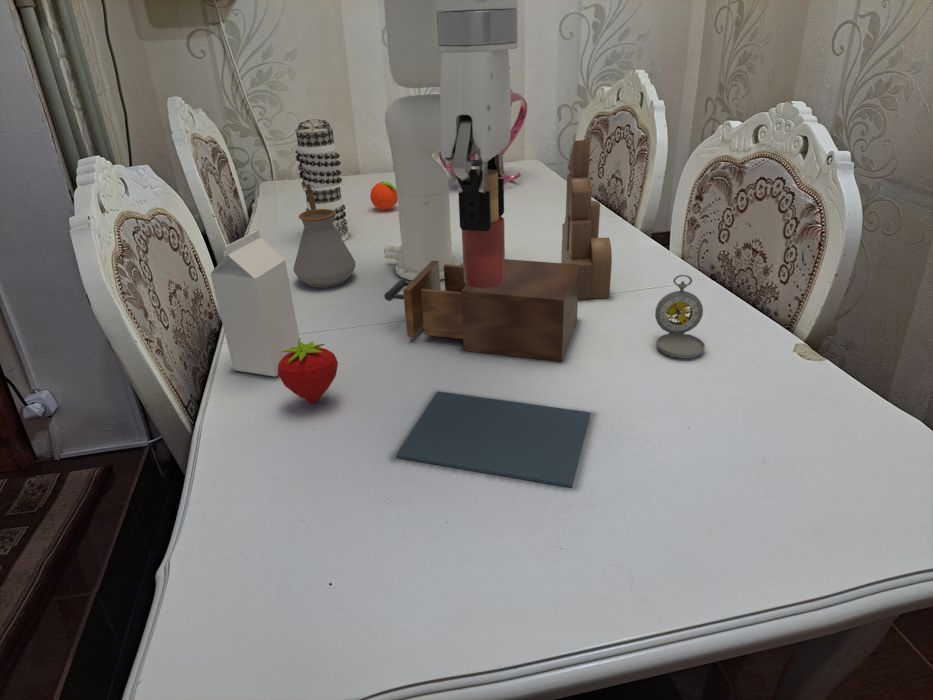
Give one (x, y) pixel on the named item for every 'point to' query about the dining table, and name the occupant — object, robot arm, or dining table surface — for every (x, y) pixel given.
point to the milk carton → (255, 305)
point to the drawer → (432, 301)
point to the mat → (499, 438)
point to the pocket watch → (676, 339)
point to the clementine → (384, 196)
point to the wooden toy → (585, 229)
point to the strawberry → (308, 370)
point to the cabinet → (523, 311)
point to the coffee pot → (321, 249)
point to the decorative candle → (321, 169)
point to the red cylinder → (486, 245)
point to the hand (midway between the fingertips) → (482, 220)
